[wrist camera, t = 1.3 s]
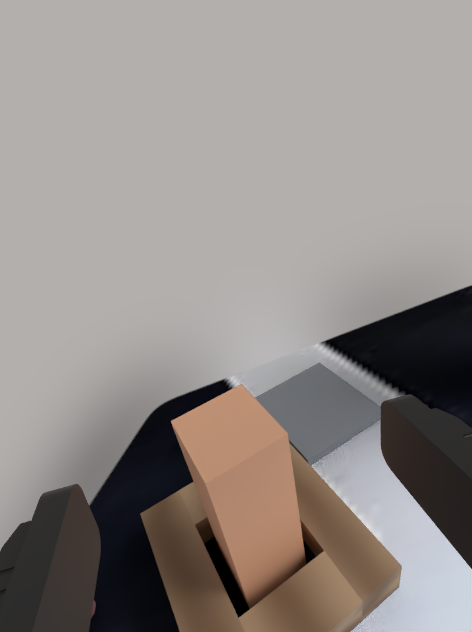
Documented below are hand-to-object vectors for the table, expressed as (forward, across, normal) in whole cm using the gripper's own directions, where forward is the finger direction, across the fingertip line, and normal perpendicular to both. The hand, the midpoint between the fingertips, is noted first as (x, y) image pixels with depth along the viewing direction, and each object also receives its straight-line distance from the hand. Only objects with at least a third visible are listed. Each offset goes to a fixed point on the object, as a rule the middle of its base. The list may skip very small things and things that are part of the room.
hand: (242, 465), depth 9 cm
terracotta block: (+12, -1, +21) cm, 24 cm away
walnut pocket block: (+12, -1, +21) cm, 24 cm away
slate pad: (+24, -11, +19) cm, 32 cm away
